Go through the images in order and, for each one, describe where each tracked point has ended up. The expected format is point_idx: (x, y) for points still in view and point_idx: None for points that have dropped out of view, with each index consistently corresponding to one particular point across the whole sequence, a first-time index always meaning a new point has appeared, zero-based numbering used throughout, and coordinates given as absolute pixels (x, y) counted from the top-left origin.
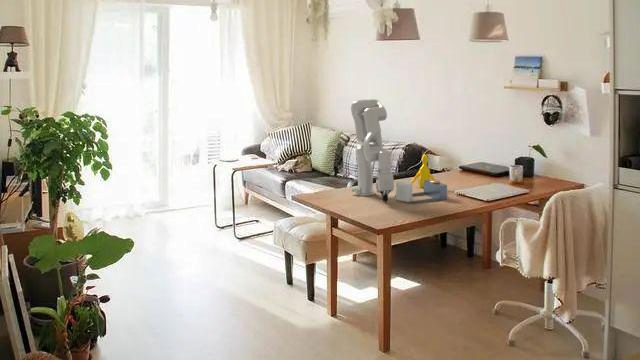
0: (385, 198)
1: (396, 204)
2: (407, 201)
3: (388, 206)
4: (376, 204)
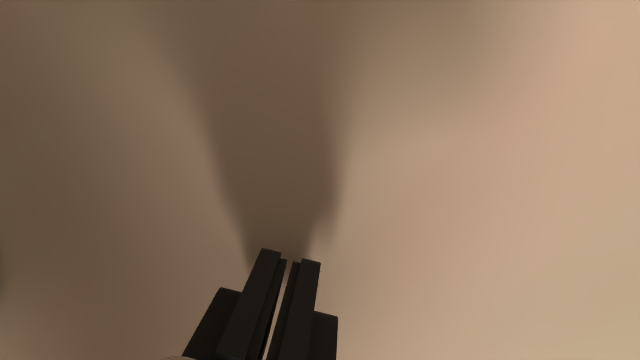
0: (298, 303)
1: (161, 35)
2: None
3: (429, 6)
4: (483, 307)
